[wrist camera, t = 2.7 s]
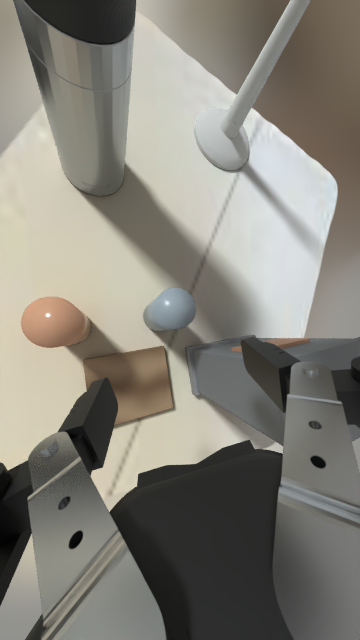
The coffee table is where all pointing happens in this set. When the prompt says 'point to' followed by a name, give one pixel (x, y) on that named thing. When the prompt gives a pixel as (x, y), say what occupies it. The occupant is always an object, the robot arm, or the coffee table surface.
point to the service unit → (242, 390)
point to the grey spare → (170, 310)
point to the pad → (134, 381)
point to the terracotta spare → (54, 323)
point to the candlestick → (244, 100)
